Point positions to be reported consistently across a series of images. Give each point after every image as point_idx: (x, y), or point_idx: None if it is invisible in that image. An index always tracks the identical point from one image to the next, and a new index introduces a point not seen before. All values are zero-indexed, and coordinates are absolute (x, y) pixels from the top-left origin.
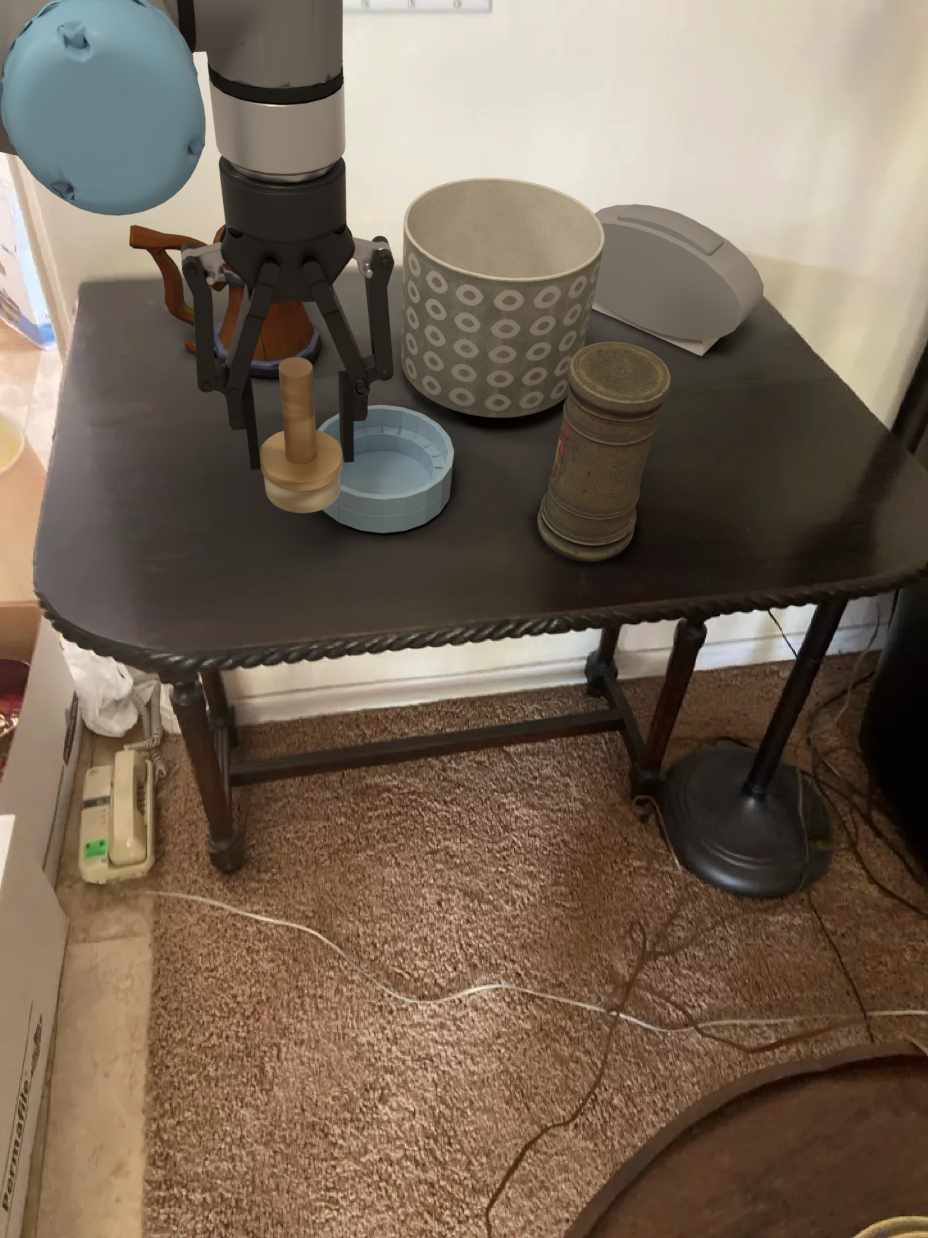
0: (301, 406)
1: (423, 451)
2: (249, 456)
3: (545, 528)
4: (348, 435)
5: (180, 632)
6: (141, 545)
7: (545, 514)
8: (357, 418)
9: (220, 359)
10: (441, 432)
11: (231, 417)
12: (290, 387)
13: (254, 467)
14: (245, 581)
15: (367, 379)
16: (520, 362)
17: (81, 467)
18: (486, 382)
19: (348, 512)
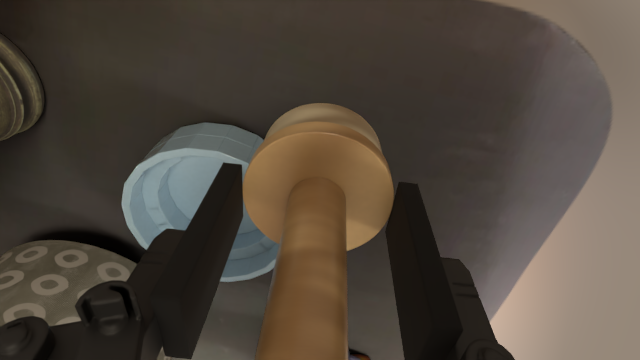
0: (304, 283)
1: (169, 218)
2: (423, 204)
3: (22, 79)
4: (213, 202)
5: (501, 36)
6: (489, 173)
7: (12, 93)
8: (181, 235)
9: (348, 348)
10: (136, 232)
11: (470, 287)
12: (326, 344)
13: (411, 186)
14: (401, 97)
15: (83, 330)
16: (8, 300)
17: (502, 271)
18: (70, 283)
19: None
